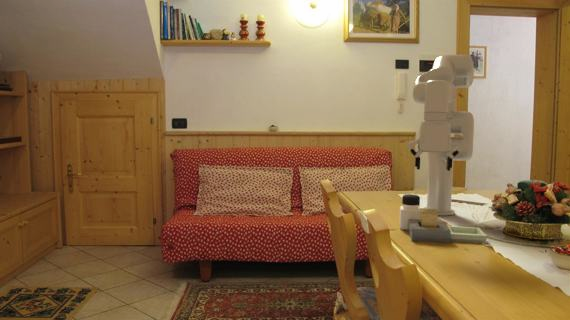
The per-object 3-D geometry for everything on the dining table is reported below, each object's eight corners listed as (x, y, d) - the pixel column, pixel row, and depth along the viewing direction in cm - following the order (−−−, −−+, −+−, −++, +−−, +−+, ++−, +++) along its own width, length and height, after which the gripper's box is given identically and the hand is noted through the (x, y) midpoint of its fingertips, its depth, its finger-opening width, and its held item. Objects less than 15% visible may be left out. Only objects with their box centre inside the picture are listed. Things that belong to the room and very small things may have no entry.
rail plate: (407, 230, 167) (408, 219, 167) (443, 232, 165) (443, 220, 165) (411, 240, 153) (412, 228, 153) (450, 243, 151) (450, 230, 151)
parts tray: (445, 232, 165) (445, 225, 164) (478, 234, 163) (478, 227, 162) (450, 241, 154) (450, 233, 154) (486, 243, 152) (486, 235, 152)
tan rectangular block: (418, 233, 162) (420, 208, 161) (435, 234, 162) (436, 208, 161) (420, 238, 157) (421, 211, 156) (437, 239, 156) (438, 212, 155)
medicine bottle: (420, 230, 167) (422, 197, 165) (400, 229, 168) (401, 196, 167) (419, 226, 174) (420, 193, 172) (399, 224, 175) (400, 192, 174)
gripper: (460, 118, 159) (458, 169, 160) (407, 117, 161) (405, 167, 163) (465, 118, 151) (462, 171, 153) (409, 117, 154) (407, 169, 155)
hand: (433, 169), depth 158 cm, fingers open, 9 cm apart
